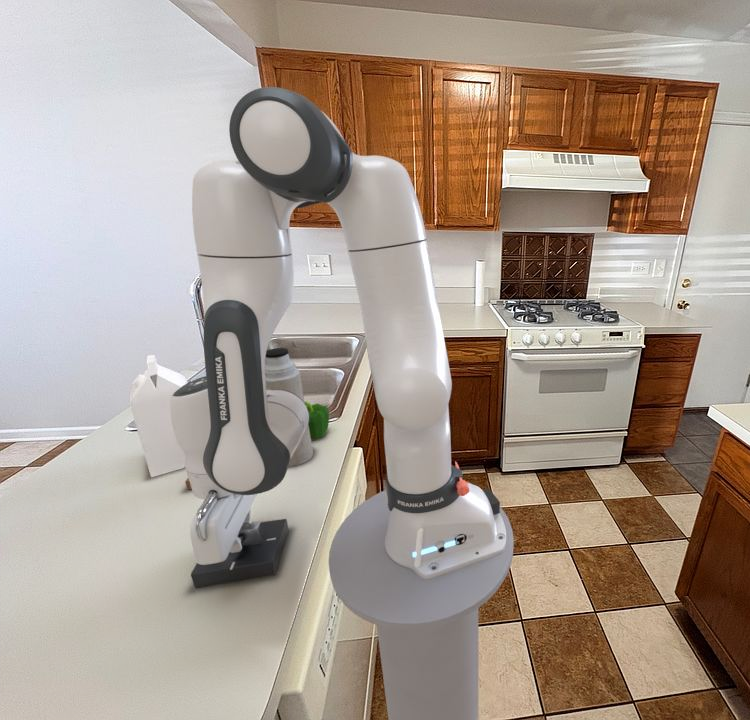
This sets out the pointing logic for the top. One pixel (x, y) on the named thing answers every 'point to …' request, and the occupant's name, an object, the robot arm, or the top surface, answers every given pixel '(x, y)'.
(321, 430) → the bell pepper
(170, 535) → the top surface
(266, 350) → the robot arm
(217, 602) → the top surface
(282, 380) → the thermos bottle
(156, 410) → the milk
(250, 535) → the tap knob
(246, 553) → the tap base
